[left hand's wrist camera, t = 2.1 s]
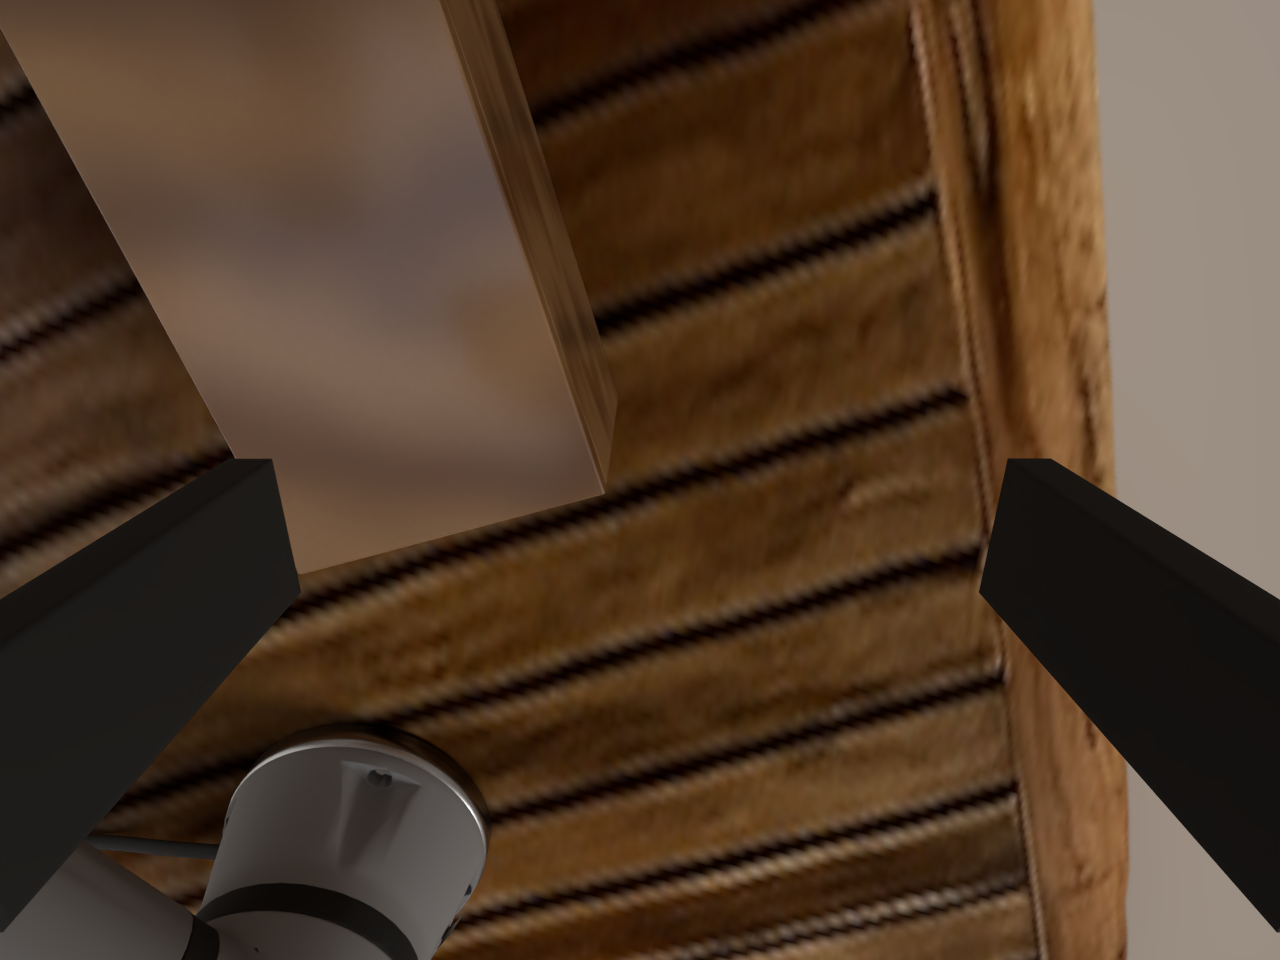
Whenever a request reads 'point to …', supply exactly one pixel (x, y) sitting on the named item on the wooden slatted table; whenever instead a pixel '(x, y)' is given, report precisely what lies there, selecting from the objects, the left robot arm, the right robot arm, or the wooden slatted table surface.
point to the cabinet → (342, 249)
